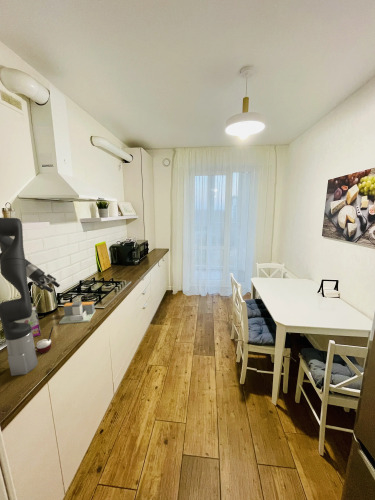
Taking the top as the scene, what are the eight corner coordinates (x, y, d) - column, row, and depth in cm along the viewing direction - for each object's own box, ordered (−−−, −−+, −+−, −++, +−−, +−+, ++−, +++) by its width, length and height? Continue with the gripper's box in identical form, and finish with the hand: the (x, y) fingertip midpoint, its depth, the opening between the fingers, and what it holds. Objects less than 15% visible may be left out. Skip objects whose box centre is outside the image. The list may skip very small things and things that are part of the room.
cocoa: (32, 356, 103) (27, 335, 100) (39, 347, 109) (34, 327, 106) (53, 353, 104) (48, 333, 101) (58, 345, 110) (54, 325, 107)
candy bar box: (40, 331, 123) (35, 305, 120) (41, 335, 119) (36, 309, 116) (16, 338, 116) (10, 312, 113) (16, 343, 112) (10, 315, 109)
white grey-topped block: (80, 318, 134) (79, 304, 132) (73, 319, 134) (71, 305, 132) (83, 315, 139) (81, 301, 137) (76, 315, 138) (74, 301, 136)
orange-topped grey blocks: (89, 321, 133) (87, 309, 131) (59, 323, 131) (57, 311, 129) (95, 311, 146) (94, 300, 145) (68, 312, 144) (67, 302, 142)
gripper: (30, 271, 120) (54, 289, 124) (43, 265, 134) (64, 280, 138) (21, 280, 120) (45, 297, 124) (36, 273, 134) (57, 288, 138)
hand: (55, 288), depth 131 cm, fingers open, 8 cm apart
